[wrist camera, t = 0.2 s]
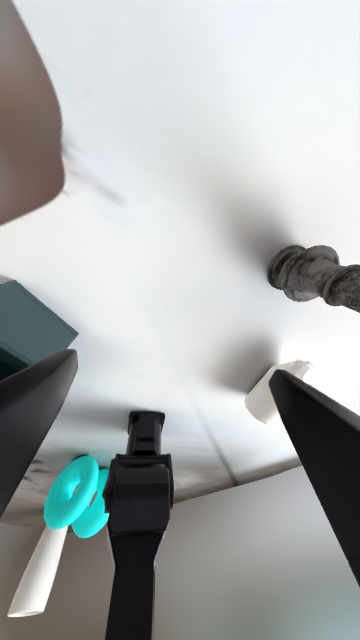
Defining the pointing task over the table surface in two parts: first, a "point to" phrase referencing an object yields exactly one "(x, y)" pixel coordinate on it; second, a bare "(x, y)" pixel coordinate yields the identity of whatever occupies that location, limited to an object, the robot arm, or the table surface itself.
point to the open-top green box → (28, 330)
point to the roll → (260, 395)
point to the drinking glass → (39, 574)
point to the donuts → (77, 498)
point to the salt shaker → (315, 276)
